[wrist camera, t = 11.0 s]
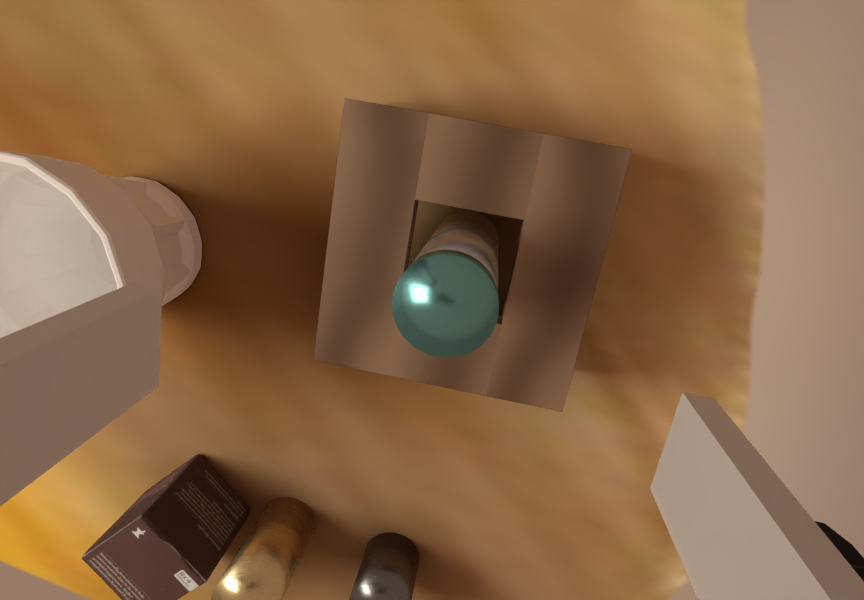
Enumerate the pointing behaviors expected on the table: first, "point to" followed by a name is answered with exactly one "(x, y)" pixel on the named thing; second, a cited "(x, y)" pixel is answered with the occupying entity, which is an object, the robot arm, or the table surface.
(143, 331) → the robot arm
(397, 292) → the long pin
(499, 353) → the bracket
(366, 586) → the short pin
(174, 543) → the box
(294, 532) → the medium pin
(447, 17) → the table surface
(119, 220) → the cup
